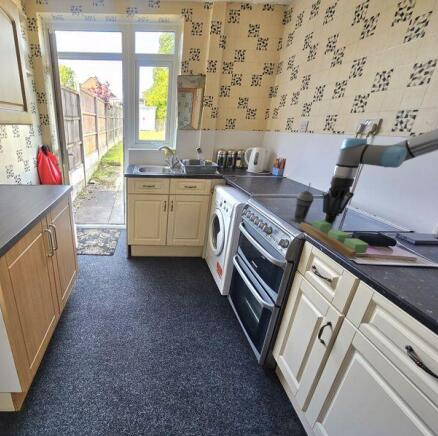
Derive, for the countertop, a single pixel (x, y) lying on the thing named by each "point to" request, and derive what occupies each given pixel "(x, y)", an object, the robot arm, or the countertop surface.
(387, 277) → the countertop surface
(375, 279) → the countertop surface
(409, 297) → the countertop surface
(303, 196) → the beverage cup
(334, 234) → the block middle
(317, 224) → the block
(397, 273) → the countertop surface
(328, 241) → the oak rail
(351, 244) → the block
